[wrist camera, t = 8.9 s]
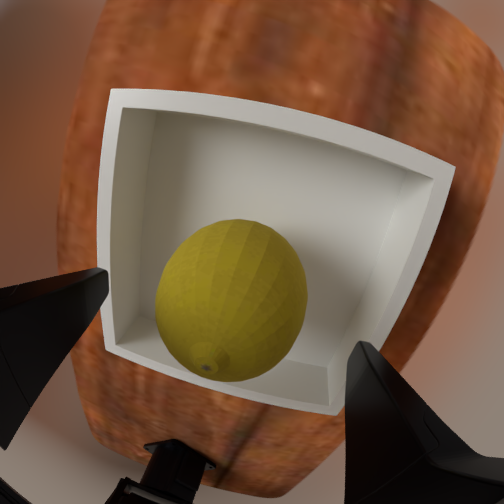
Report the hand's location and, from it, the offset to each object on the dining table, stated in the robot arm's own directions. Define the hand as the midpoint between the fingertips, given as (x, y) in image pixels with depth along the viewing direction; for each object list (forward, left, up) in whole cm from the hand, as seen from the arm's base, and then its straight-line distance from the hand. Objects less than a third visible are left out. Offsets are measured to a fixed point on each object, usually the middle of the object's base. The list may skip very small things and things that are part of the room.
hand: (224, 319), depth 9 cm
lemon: (0, 0, -6) cm, 6 cm away
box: (0, 0, -7) cm, 7 cm away
